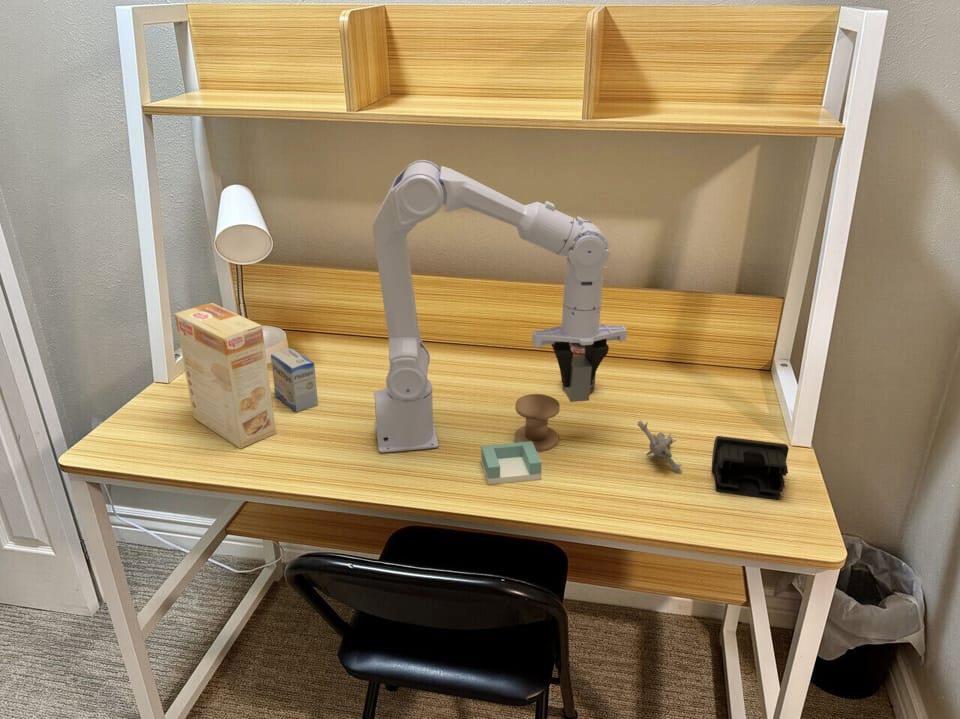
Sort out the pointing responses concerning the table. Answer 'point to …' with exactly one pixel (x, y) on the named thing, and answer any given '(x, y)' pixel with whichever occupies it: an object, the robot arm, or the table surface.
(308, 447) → the table surface
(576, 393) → the plug
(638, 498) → the table surface
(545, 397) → the bobbin
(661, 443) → the grey animal figure
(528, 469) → the notch board
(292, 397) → the medicine box
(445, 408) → the table surface
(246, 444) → the coffeecake box
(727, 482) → the end cap
